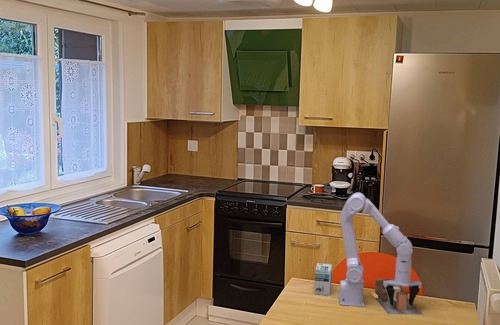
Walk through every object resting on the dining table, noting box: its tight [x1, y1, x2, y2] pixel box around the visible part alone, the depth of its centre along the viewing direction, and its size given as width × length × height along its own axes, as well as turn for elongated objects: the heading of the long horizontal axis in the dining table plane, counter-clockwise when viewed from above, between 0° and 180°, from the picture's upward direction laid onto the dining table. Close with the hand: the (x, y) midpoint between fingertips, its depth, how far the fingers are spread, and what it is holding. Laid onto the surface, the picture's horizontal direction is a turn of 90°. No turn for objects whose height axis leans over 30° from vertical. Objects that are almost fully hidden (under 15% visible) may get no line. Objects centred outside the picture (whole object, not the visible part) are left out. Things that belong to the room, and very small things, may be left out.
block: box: [385, 287, 408, 310], centre depth 217 cm, size 5×15×6 cm, turn 3°
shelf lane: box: [374, 278, 424, 315], centre depth 217 cm, size 14×25×6 cm, turn 3°
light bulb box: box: [314, 262, 333, 296], centre depth 229 cm, size 11×7×11 cm, turn 168°
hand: (401, 304), depth 211 cm, fingers open, 7 cm apart
